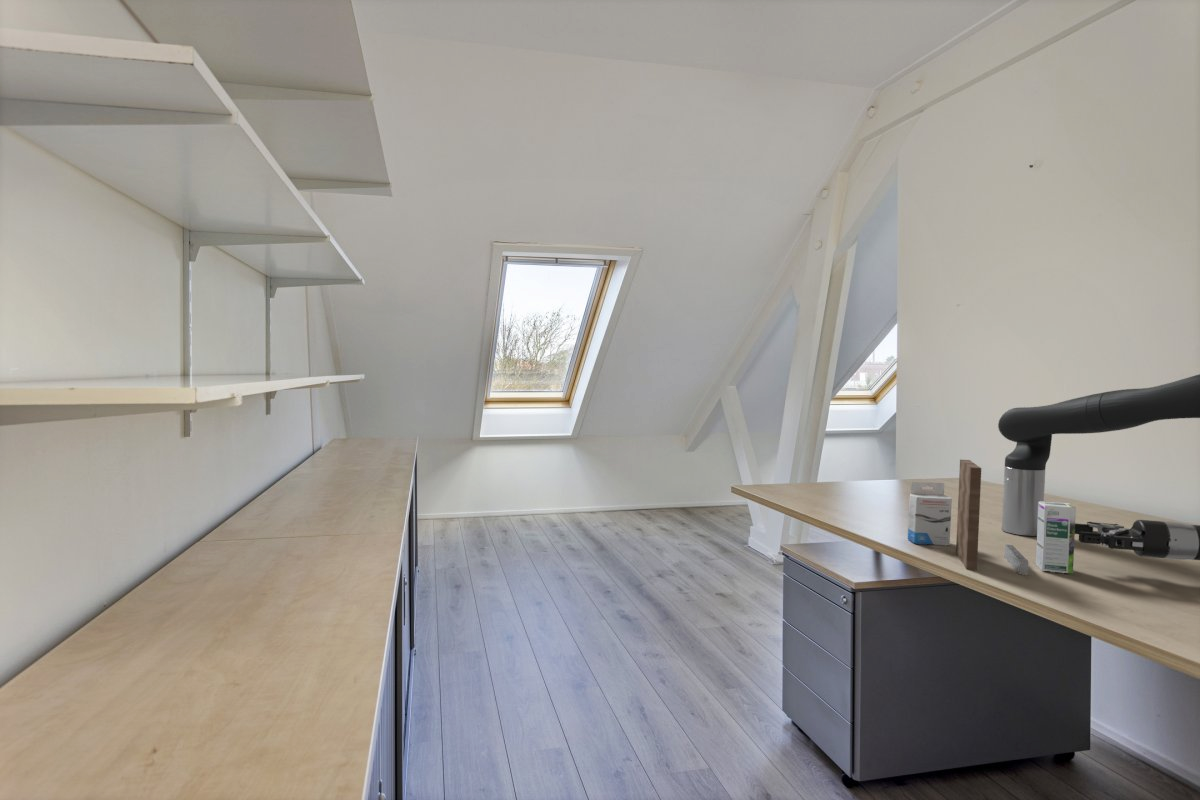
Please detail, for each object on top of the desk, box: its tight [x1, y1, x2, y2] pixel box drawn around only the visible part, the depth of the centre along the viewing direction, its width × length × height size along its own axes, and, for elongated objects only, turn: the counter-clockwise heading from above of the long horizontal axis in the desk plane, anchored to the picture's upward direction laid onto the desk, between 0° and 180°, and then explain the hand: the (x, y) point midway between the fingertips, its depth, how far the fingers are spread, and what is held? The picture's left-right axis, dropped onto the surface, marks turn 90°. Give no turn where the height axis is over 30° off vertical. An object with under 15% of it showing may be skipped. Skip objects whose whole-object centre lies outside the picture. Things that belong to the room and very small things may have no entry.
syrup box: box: [1035, 501, 1077, 574], centre depth 149 cm, size 6×6×14 cm
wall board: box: [955, 459, 1029, 576], centre depth 153 cm, size 14×12×22 cm
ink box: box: [907, 481, 953, 546], centre depth 171 cm, size 9×5×15 cm, turn 84°
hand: (1072, 532), depth 148 cm, fingers open, 8 cm apart
